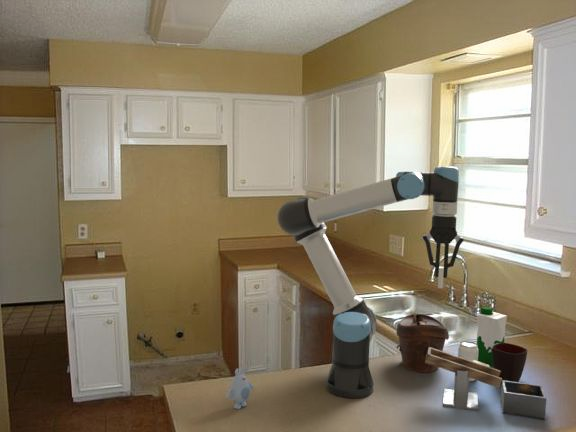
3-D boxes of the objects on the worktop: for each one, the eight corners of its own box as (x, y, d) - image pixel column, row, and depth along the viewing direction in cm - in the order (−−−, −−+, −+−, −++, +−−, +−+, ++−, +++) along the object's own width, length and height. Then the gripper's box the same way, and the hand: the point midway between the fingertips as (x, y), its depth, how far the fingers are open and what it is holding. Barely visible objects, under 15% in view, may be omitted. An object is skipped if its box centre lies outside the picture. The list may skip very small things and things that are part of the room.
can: (461, 372, 189) (463, 339, 188) (479, 377, 185) (481, 343, 184) (453, 378, 184) (455, 344, 183) (472, 383, 180) (474, 348, 179)
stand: (443, 405, 164) (445, 369, 162) (444, 390, 174) (445, 357, 173) (478, 411, 161) (480, 374, 159) (477, 395, 171) (479, 361, 170)
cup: (485, 381, 182) (487, 347, 181) (507, 372, 191) (510, 339, 189) (513, 392, 174) (516, 356, 173) (535, 381, 183) (537, 347, 181)
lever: (425, 362, 166) (427, 354, 165) (427, 347, 179) (430, 339, 179) (499, 387, 160) (502, 379, 160) (496, 370, 173) (498, 362, 173)
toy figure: (233, 416, 154) (233, 375, 153) (219, 408, 158) (219, 369, 157) (260, 404, 162) (260, 365, 160) (246, 397, 166) (246, 359, 165)
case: (416, 351, 208) (418, 306, 206) (458, 369, 192) (461, 320, 190) (382, 361, 199) (383, 313, 196) (423, 381, 182) (425, 329, 180)
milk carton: (483, 356, 206) (487, 304, 203) (506, 363, 199) (510, 309, 197) (471, 361, 200) (474, 308, 198) (494, 369, 193) (498, 314, 191)
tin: (502, 413, 159) (504, 392, 159) (500, 400, 168) (502, 380, 167) (544, 419, 156) (546, 398, 155) (540, 406, 165) (541, 385, 164)
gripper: (422, 215, 172) (418, 287, 175) (465, 217, 168) (461, 291, 171) (424, 212, 179) (420, 282, 182) (465, 214, 175) (461, 286, 178)
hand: (440, 287), depth 176 cm, fingers closed
